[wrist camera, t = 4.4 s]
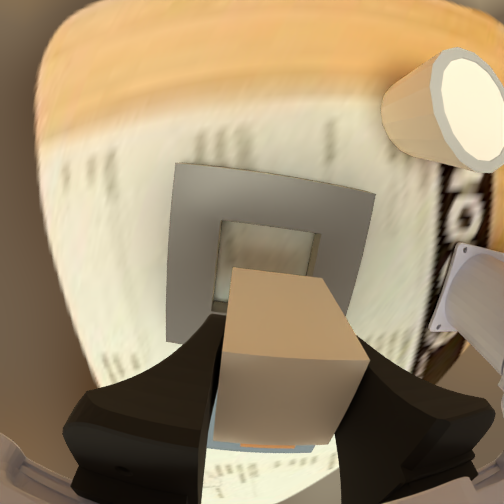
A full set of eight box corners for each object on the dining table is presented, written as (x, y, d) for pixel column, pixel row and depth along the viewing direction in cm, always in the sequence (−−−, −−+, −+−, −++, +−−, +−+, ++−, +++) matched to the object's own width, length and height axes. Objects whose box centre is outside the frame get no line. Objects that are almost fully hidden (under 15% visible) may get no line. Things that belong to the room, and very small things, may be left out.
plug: (321, 278, 13) (370, 360, 7) (299, 362, 14) (321, 455, 9) (232, 267, 13) (222, 351, 7) (222, 355, 14) (211, 452, 8)
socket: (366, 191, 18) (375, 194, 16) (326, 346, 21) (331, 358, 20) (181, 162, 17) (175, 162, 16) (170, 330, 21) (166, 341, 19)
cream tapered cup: (449, 90, 15) (511, 76, 9) (446, 174, 17) (512, 186, 11) (373, 61, 15) (426, 26, 8) (368, 155, 17) (428, 156, 10)
